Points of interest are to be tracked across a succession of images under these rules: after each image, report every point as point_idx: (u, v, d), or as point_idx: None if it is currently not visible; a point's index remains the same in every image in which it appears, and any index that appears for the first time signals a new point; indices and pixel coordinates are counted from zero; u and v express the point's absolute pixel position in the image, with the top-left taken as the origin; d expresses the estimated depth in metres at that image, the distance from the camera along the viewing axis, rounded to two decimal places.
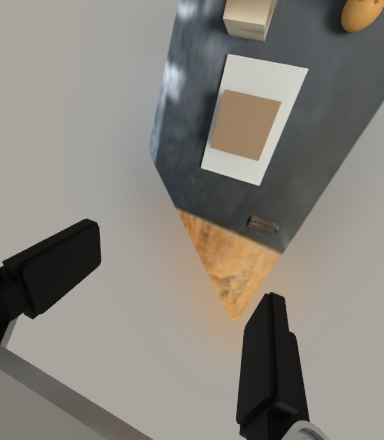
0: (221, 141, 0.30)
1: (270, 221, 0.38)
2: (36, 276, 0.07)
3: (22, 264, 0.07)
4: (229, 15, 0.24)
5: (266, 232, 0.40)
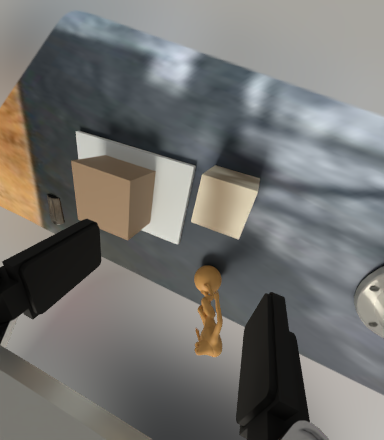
0: (81, 176, 0.22)
1: (61, 217, 0.36)
2: (36, 276, 0.07)
3: (22, 264, 0.07)
4: (203, 182, 0.18)
5: (50, 214, 0.37)
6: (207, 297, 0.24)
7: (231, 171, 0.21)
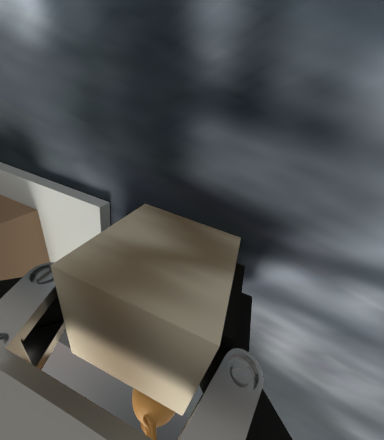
0: None
1: None
2: None
3: None
4: (62, 286, 0.06)
5: None
6: None
7: (174, 222, 0.09)
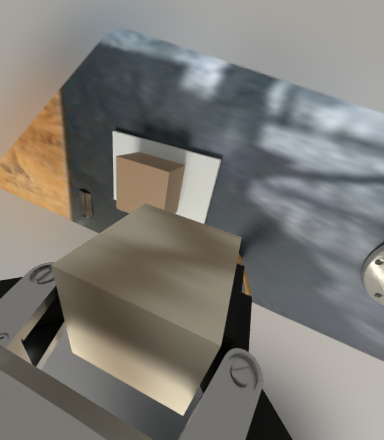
0: (123, 169, 0.26)
1: (90, 210, 0.40)
2: None
3: None
4: (63, 286, 0.06)
5: (80, 207, 0.40)
6: None
7: (175, 222, 0.09)
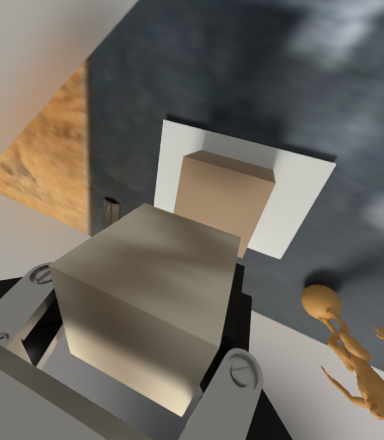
0: (193, 177, 0.17)
1: None
2: None
3: None
4: (61, 286, 0.06)
5: (103, 220, 0.31)
6: (344, 329, 0.19)
7: (174, 222, 0.09)
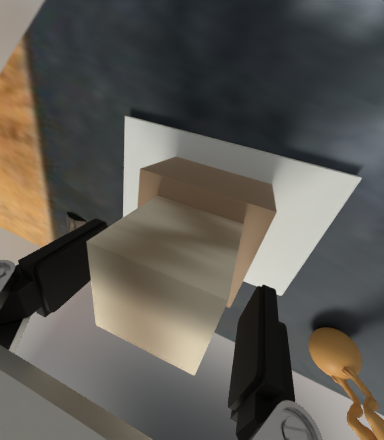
0: None
1: None
2: (50, 275, 0.08)
3: (37, 263, 0.07)
4: (95, 260, 0.07)
5: None
6: (371, 405, 0.14)
7: (184, 211, 0.10)
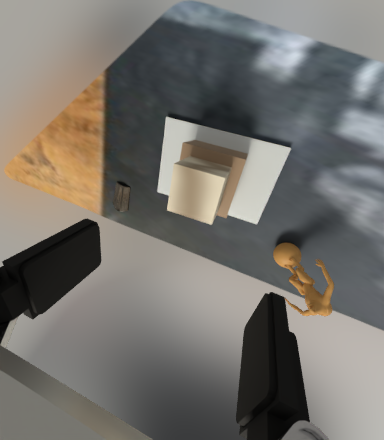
0: None
1: (126, 204, 0.38)
2: (36, 276, 0.07)
3: (22, 264, 0.07)
4: (175, 171, 0.19)
5: (115, 200, 0.38)
6: (299, 268, 0.26)
7: (204, 161, 0.22)
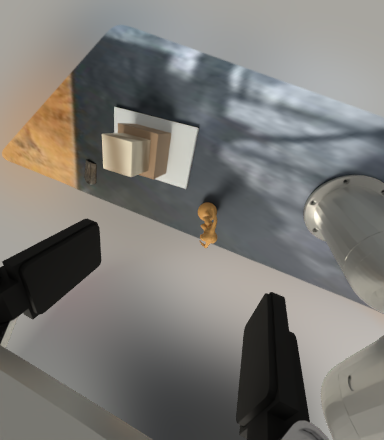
0: None
1: (94, 178, 0.48)
2: (36, 276, 0.07)
3: (22, 264, 0.07)
4: (103, 139, 0.29)
5: (85, 175, 0.48)
6: (207, 216, 0.35)
7: (131, 135, 0.32)
